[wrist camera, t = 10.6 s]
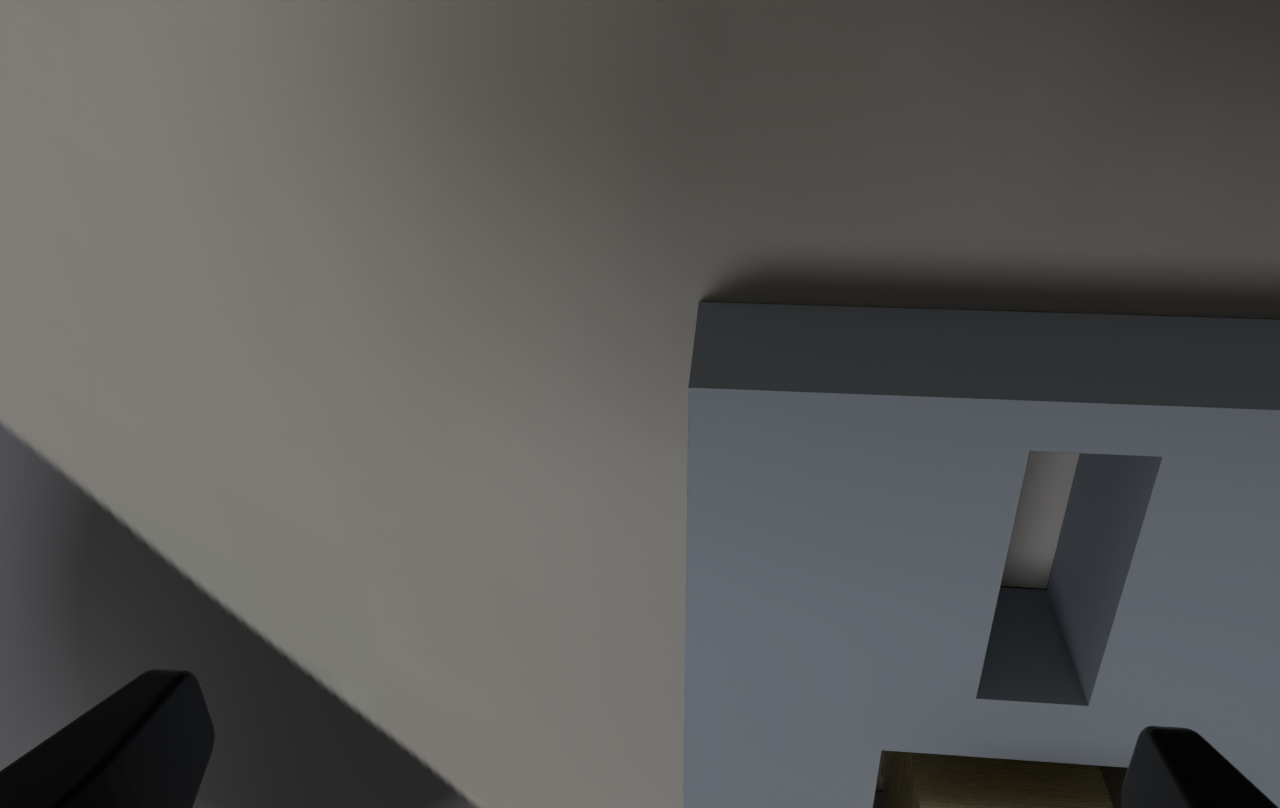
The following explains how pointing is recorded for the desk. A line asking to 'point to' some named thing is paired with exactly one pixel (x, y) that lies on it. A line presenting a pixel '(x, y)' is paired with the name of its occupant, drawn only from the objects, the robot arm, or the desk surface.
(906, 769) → the brass square bit
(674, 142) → the desk surface
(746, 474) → the slate bore board
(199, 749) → the robot arm
